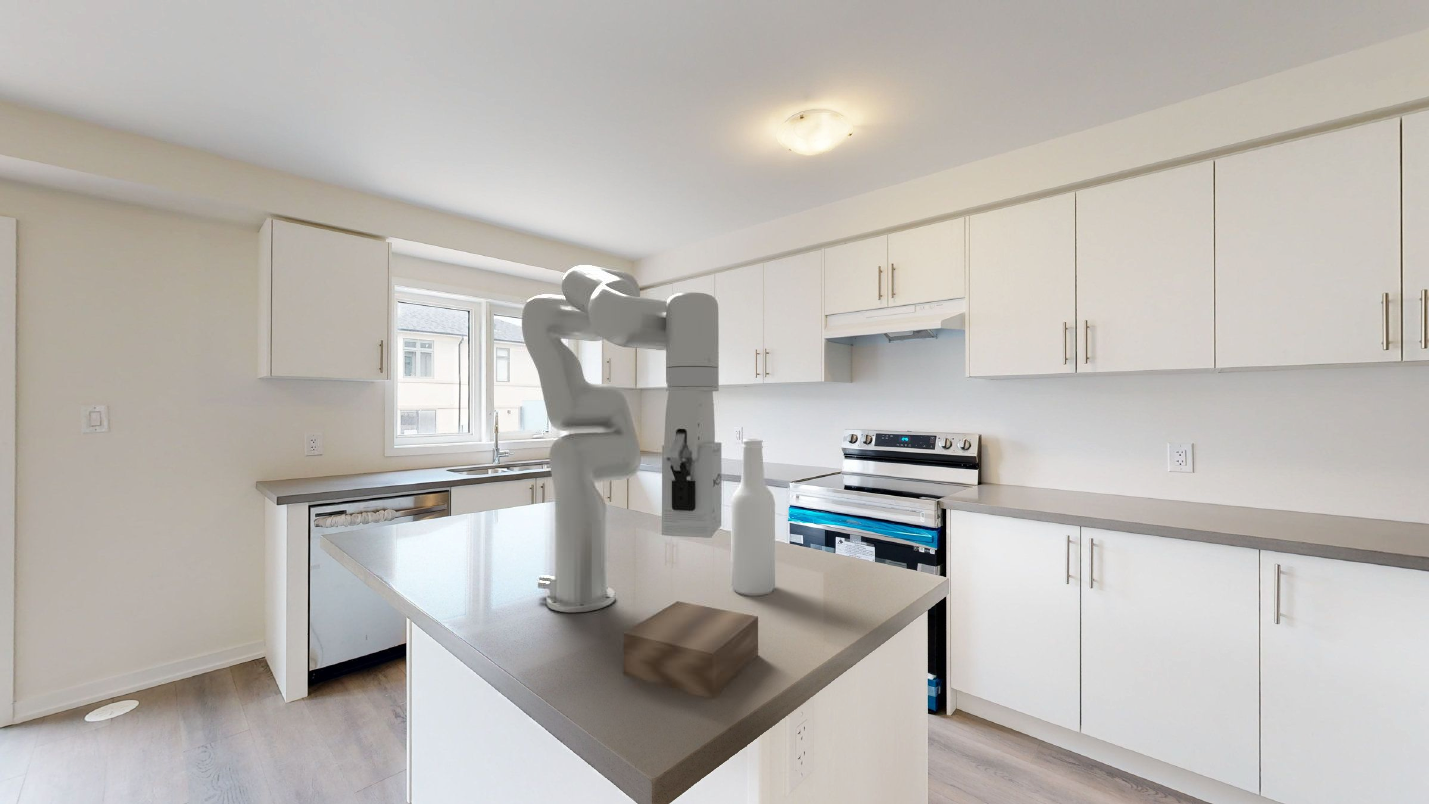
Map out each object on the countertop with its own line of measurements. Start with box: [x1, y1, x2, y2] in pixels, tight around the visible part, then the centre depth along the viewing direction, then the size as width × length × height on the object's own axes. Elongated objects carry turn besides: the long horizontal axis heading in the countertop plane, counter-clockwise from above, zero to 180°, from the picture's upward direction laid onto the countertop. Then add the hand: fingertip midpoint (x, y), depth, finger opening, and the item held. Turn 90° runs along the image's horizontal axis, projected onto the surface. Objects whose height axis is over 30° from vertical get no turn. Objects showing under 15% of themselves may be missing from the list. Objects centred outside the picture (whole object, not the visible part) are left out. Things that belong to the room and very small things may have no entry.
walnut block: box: [622, 600, 759, 700], centre depth 80 cm, size 14×14×6 cm
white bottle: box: [730, 438, 776, 597], centre depth 112 cm, size 9×9×30 cm
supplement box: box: [661, 442, 723, 539], centre depth 80 cm, size 7×7×13 cm
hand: (692, 504), depth 80 cm, fingers closed on supplement box, 7 cm apart
